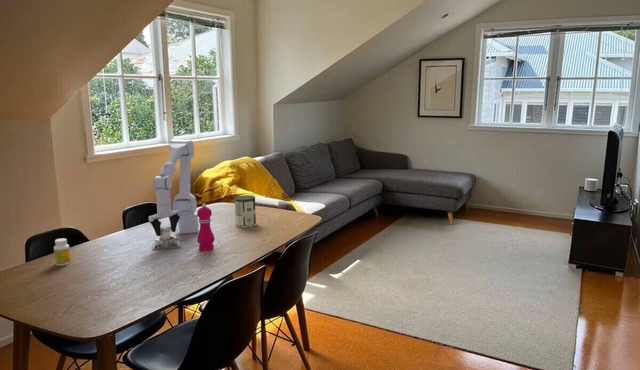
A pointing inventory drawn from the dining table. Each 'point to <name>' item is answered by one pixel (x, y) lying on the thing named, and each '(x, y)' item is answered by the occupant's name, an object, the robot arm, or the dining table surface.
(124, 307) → the dining table surface
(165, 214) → the robot arm
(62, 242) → the supplement bottle
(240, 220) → the coffee can
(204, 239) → the pepper mill
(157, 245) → the flange
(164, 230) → the white knob
